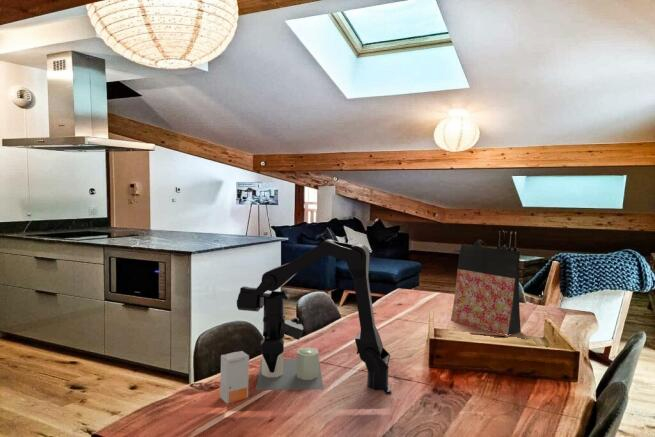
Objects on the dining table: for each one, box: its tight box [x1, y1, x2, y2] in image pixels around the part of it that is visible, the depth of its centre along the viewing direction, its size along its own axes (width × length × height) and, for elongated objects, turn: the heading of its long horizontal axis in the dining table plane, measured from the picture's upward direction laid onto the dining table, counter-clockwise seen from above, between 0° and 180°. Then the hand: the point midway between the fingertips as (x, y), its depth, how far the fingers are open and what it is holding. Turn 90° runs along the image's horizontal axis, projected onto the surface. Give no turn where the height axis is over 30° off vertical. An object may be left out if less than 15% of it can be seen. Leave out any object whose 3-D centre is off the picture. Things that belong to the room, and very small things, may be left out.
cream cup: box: [261, 352, 284, 377], centre depth 130 cm, size 6×6×7 cm
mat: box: [255, 358, 324, 391], centre depth 131 cm, size 22×18×1 cm
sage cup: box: [296, 347, 320, 380], centre depth 129 cm, size 6×6×7 cm
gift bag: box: [450, 239, 522, 335], centre depth 186 cm, size 29×14×35 cm, turn 39°
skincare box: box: [219, 350, 250, 404], centre depth 114 cm, size 6×4×12 cm
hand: (272, 365), depth 130 cm, fingers open, 9 cm apart
